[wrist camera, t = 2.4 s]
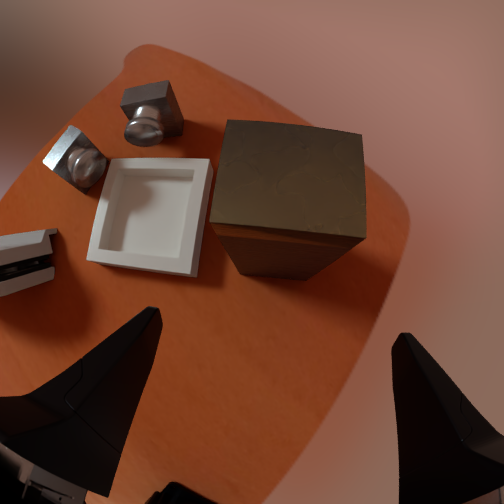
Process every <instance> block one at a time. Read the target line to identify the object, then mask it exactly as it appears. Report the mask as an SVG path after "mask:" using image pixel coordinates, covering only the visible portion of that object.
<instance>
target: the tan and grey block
mask: <svg viewBox="0 0 504 504" xmlns="http://www.w3.org/2000/svg"><path fill="white" fill-rule="evenodd" d="M363 155H364V154H363V143H362V135H361V134H355V133H350V132H344V131H338V130H332V129H325V128H319V127H311V126H303V125H295V124H285V123H275V122H262V121H247V120H227V124H226V129H225V134H224V139H223V144H222V149H221V155H220V160H219V166H218V171H217V177H216V183H215V188H214V194H213V200H212V207H211V213H210V219H209V222H210V224H211V226H212V228H213V229H214V231H215V233H216V234H217V236H218V238H219V240H220V241H221V243H222V245H223V246H224V248H225V250H226V251H227V253H228V255H229V256H230V258H231V260H232V262H233V263H234V265H235V267H236V268H237V270H238V272H239V273H240V274H243V275H252V276H262V277H272V278H282V279H292V280H303V281H306V280H308V279H309V278H311V277H312V276H314V275H315V274H317V273H318V272H320V271H321V270H322V269H324V268H325V267H327V266H328V265H330V264H331V263H332V262H334V261H335V260H337V259H338V258H339V257H341V256H342V255H344V254H345V253H346V252H348V251H349V250H351V249H352V248H353V247H355V246H356V245H357V244H359V243H360V242H362V241H363V240H364V239H366V188H365V169H364V156H363Z"/></svg>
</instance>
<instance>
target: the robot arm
mask: <svg viewBox="0 0 504 504" xmlns="http://www.w3.org/2000/svg"><path fill="white" fill-rule="evenodd" d="M162 327H163V323H162V318H161V313H160V310H159V308H157V307H152V306H148V307H146V308H145V309H144V310H142V311H141V312H140V313H138V314H137V315H136V316H135V317H133V318H132V319H131V320H129V321H128V322H127V323H125V324H124V325H123V326H122V327H120V328H119V329H118V330H116V331H115V332H114V333H113V334H111V335H110V336H109V337H107V338H106V339H105V340H104V341H102V342H101V343H100V344H98V345H97V346H96V347H95V348H93V349H92V350H91V351H90V352H88V353H87V354H86V355H85V356H83V357H82V358H81V359H79V360H78V361H77V362H76V363H74V364H73V365H72V366H70V367H69V368H68V369H66V370H65V371H64V372H62V373H61V374H59V375H58V376H56V377H55V378H53V379H51V380H50V381H48V382H47V383H45V384H44V385H42V386H41V387H39V388H37V389H36V390H34V391H32V392H31V393H28V394H26V395H22V396H10V397H0V504H86V502H85V497H86V494H87V491H88V490H89V491H91V492H94V493H96V494H99V495H102V496H104V497H107V498H108V496H109V494H110V490H111V487H112V483H113V480H114V477H115V473H116V470H117V467H118V464H119V460H120V457H121V454H122V451H123V448H124V445H125V441H126V438H127V435H128V432H129V429H130V427H131V424H132V421H133V418H134V415H135V412H136V409H137V406H138V404H139V401H140V398H141V395H142V392H143V390H144V387H145V384H146V382H147V379H148V376H149V374H150V371H151V368H152V365H153V362H154V359H155V355H156V351H157V347H158V343H159V339H160V335H161V331H162ZM391 355H392V380H393V393H394V402H395V411H396V422H397V434H398V451H399V477H400V478H399V504H504V436H503V435H502V434H500V433H499V432H497V431H496V430H495V428H494V427H493V426H492V425H491V424H490V423H489V422H488V421H487V420H486V419H485V418H484V417H483V416H482V415H481V414H480V413H479V412H478V410H477V409H476V408H475V407H474V406H473V405H472V404H471V402H470V401H469V400H468V399H467V398H466V396H465V395H464V394H463V393H462V392H461V390H460V389H459V388H458V387H457V385H456V384H455V383H454V382H453V381H452V379H451V378H450V377H449V376H448V375H447V374H446V373H445V371H444V370H443V369H442V368H441V367H440V365H439V364H438V363H437V362H436V361H435V360H434V359H433V357H432V356H431V355H430V354H429V353H428V352H427V351H426V349H425V348H424V347H423V346H422V345H421V344H420V343H419V342H418V341H417V339H416V338H415V337H414V336H413V335H412V334H411V333H401V334H399V336H398V338H397V339H396V341H395V343H394V344H393V346H392V351H391ZM172 486H174V487H175V488H174V487H172ZM145 504H214V503H212V502H210V501H208V500H206V499H204V498H202V497H201V496H199V495H197V494H195V493H193V492H191V491H189V490H188V489H186V488H184V487H182V486H181V485H179V484H177V483H175V482H170V483H169V484H168V485H167V486H166V487H165V488H164V489H163V490H162V491H161V492H158V491H157V492H154V494H153V495H152V496H151V497H150V498H149V499H148V500H147V501H146V502H145Z"/></svg>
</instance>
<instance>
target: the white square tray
mask: <svg viewBox="0 0 504 504" xmlns="http://www.w3.org/2000/svg"><path fill="white" fill-rule="evenodd" d="M212 177H213V168H212V165H211V162H210V159H197V158H122V159H112V160H111V163H110V166H109V169H108V172H107V176H106V179H105V182H104V186H103V189H102V193H101V197H100V200H99V204H98V208H97V212H96V216H95V221H94V225H93V229H92V234H91V239H90V244H89V249H88V254H87V260H88V261H91V262H94V263H97V264H101V265H108V266H114V267H121V268H128V269H135V270H142V271H150V272H157V273H164V274H172V275H180V276H188V277H196V278H197V272H198V265H199V258H200V251H201V244H202V237H203V231H204V224H205V218H206V212H207V206H208V200H209V194H210V188H211V182H212Z"/></svg>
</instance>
